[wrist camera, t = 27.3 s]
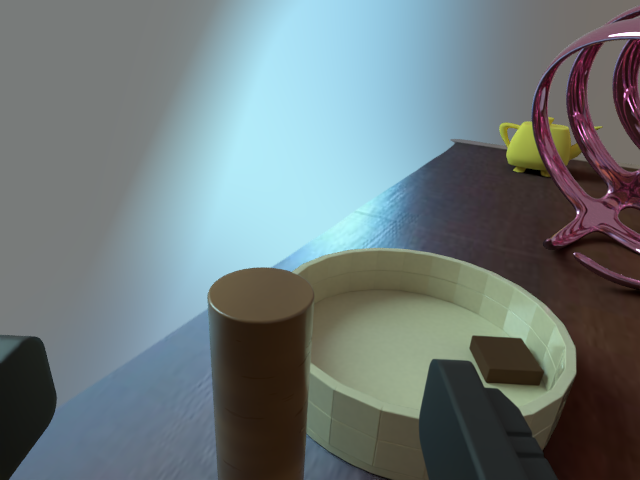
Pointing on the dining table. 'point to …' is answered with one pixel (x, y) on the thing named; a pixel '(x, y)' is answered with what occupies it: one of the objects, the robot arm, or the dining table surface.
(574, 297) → the dining table surface
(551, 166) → the pink metal ribbed cage
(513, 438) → the robot arm
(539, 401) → the pan
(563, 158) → the teapot
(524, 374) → the brown square block
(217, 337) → the sponge brush
